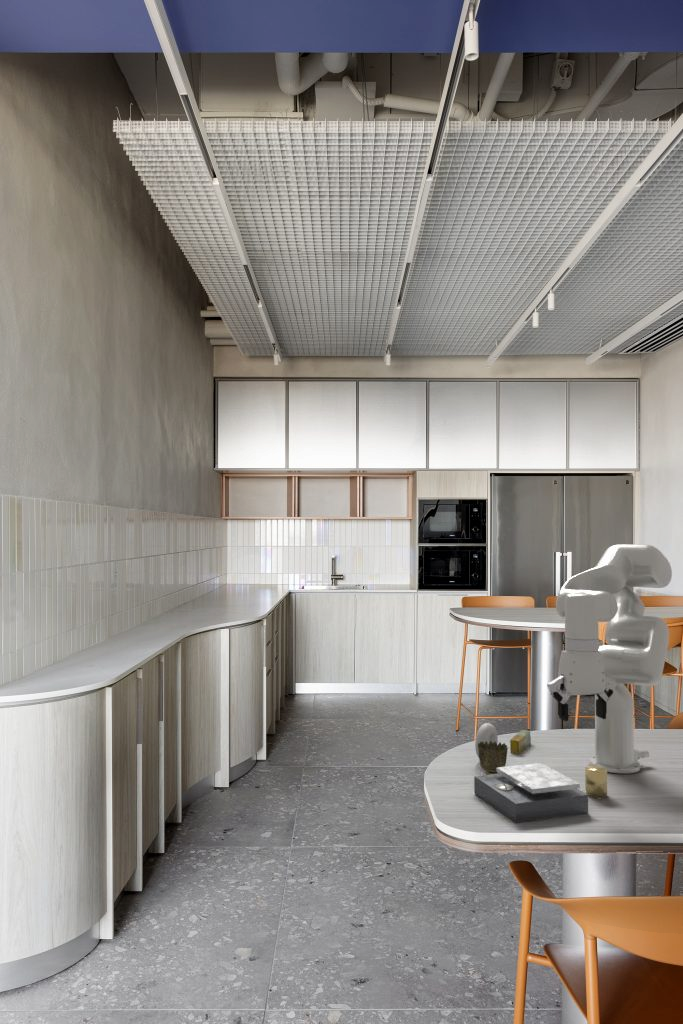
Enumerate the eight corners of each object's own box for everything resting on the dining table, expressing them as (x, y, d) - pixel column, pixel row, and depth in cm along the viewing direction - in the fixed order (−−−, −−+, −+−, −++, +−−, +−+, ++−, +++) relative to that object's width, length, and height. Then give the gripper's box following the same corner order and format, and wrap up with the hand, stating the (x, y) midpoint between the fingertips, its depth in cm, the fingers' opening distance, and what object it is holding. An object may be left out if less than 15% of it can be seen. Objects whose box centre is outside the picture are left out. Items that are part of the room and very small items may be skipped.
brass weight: (598, 790, 168) (598, 764, 168) (611, 797, 163) (611, 771, 164) (581, 792, 166) (581, 766, 167) (594, 799, 162) (594, 773, 162)
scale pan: (540, 767, 169) (540, 762, 169) (579, 788, 155) (579, 783, 155) (496, 771, 166) (496, 767, 166) (532, 793, 151) (532, 789, 151)
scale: (540, 785, 171) (540, 766, 171) (588, 813, 154) (588, 792, 154) (474, 793, 165) (474, 774, 166) (515, 823, 148) (515, 801, 148)
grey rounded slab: (485, 767, 185) (485, 728, 185) (473, 764, 187) (472, 726, 187) (499, 757, 193) (499, 720, 193) (487, 755, 195) (487, 718, 195)
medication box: (521, 743, 208) (521, 729, 208) (531, 744, 206) (530, 730, 207) (510, 753, 197) (509, 739, 197) (519, 755, 196) (519, 740, 196)
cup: (508, 783, 173) (508, 750, 173) (477, 780, 174) (477, 748, 174) (507, 773, 180) (507, 741, 180) (477, 771, 181) (477, 739, 182)
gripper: (605, 642, 172) (606, 713, 172) (540, 644, 169) (541, 716, 168) (623, 647, 165) (624, 720, 164) (556, 649, 161) (556, 724, 161)
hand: (582, 718), depth 166 cm, fingers open, 9 cm apart
